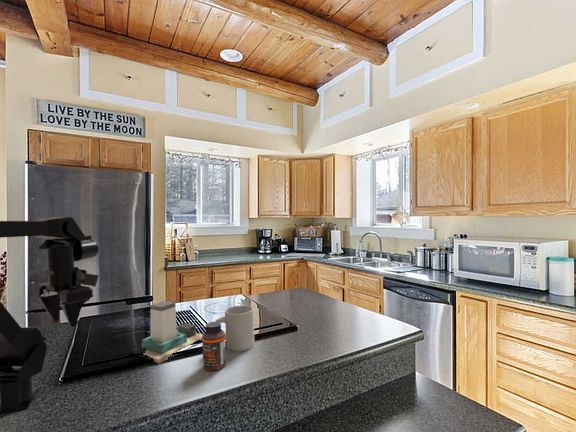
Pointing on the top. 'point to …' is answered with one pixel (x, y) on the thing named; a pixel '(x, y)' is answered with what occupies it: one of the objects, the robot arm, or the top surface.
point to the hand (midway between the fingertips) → (64, 323)
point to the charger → (163, 321)
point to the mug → (238, 328)
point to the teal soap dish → (171, 343)
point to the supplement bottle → (213, 347)
